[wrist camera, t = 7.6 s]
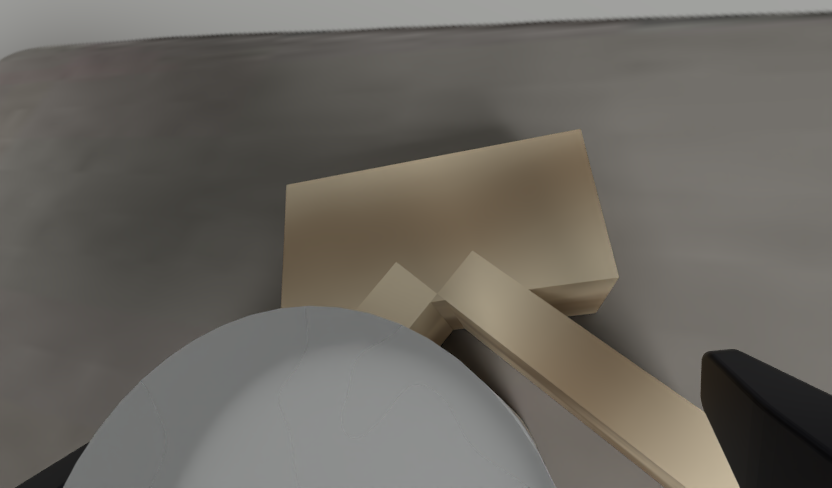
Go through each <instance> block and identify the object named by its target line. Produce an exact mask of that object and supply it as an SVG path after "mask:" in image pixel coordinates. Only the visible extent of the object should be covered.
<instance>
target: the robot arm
mask: <svg viewBox="0 0 832 488" xmlns="http://www.w3.org/2000/svg"><path fill="white" fill-rule="evenodd" d="M701 402H702V406H703V409H704V411H705V414H706V416H707V418H708V420H709V422H710V425H711V427H712V429H713V431H714V433H715V435H716V438H717V440H718V442H719V444H720V446H721V448H722V450H723V453H724V455H725V457H726V459H727V461H728V463H729V465H730V468H731V470H732V472H733V474H734V476H735V478H736V481H737V483H738V485H739V487H740V488H832V395H830V394H828V393H826V392H824V391H822V390H820V389H818V388H815V387H813V386H811V385H809V384H807V383H805V382H803V381H801V380H799V379H797V378H795V377H793V376H791V375H789V374H787V373H784V372H782V371H780V370H778V369H776V368H774V367H772V366H770V365H768V364H766V363H764V362H762V361H760V360H758V359H756V358H754V357H751V356H749V355H747V354H745V353H743V352H741V351H739V350H735V349H727V350H717V351H708V352H706V353H705V354H704V355H703V357H702V368H701ZM89 443H90V442H89ZM89 443H87V444H85V445H84V446H82V447H80V448H79V449H77V450H76V451H74V452H72V453H71V454H69V455H67V456H66V457H64V458H63V459H61V460H59V461H58V462H56V463H54V464H53V465H51V466H50V467H48V468H46V469H45V470H43V471H41V472H40V473H38V474H37V475H35V476H33V477H32V478H30V479H28V480H27V481H25V482H24V483H22V484H20V485H19V486H17V487H15V488H63V487H64V485H65V483H66V481H67V479H68V477H69V475H70V474H71V472H72V470H73V468H74V466H75V464H76V462H77V461H78V459H79V458H80V456H81V455H82V453H83V452H84V450H85V449H86V447H87V446H88V444H89Z"/></svg>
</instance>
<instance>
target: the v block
mask: <svg viewBox="0 0 832 488" xmlns="http://www.w3.org/2000/svg"><path fill="white" fill-rule="evenodd" d="M618 278H619V275H618V271H617V268H616V264H615V260H614V256H613V252H612V248H611V244H610V241H609V237H608V233H607V229H606V225H605V221H604V217H603V214H602V210H601V206H600V202H599V198H598V194H597V190H596V187H595V183H594V179H593V175H592V171H591V167H590V163H589V160H588V156H587V152H586V148H585V144H584V140H583V136H582V133H581V129H577V130H572V131H567V132H562V133H556V134H551V135H546V136H541V137H535V138H530V139H525V140H520V141H514V142H509V143H504V144H499V145H493V146H488V147H483V148H478V149H472V150H467V151H462V152H457V153H451V154H446V155H441V156H436V157H430V158H425V159H420V160H415V161H409V162H404V163H399V164H394V165H388V166H383V167H378V168H373V169H367V170H362V171H357V172H352V173H346V174H341V175H336V176H331V177H325V178H320V179H315V180H310V181H304V182H299V183H294V184H289V185H287V186H286V208H285V230H284V252H283V275H282V297H281V308H290V307H301V306H322V307H340V308H345V309H350V310H355V311H360V312H366V313H370V314H373V315H376V316H379V317H381V318H384V319H387V320H390V321H393V322H396V323H399V324H401V325H403V326H405V327H407V328H409V329H411V330H413V331H415V332H417V333H419V334H421V335H422V336H424V337H426V338H428V339H430V340H431V341H433V342H434V343H436V344H437V345H439V346H441V345H442V343H443V342H444V341H445V340H446V338H447V337H448V336H449V335H450V333H451V332H452V331H453V330H457V329H466V330H467V331H468V332H470V333H471V334H472V335H473V336H475V337H476V338H477V339H478V340H480V341H481V342H482V343H483V344H485V345H486V346H487V347H488V348H490V349H491V350H492V351H493V352H495V353H496V354H497V355H499V356H500V357H501V358H502V359H504V360H505V361H506V362H507V363H509V364H510V365H511V366H512V367H514V368H515V369H516V370H517V371H519V372H520V373H521V374H522V375H524V376H525V377H526V378H528V379H529V380H530V381H531V382H533V383H534V384H535V385H536V386H538V387H539V388H540V389H541V390H543V391H544V392H545V393H546V394H548V395H549V396H550V397H551V398H553V399H554V400H555V401H556V402H558V403H559V404H560V405H562V406H563V407H564V408H565V409H567V410H568V411H569V412H570V413H572V414H573V415H574V416H575V417H577V418H578V419H579V420H580V421H582V422H583V423H584V424H585V425H587V426H588V427H589V428H591V429H592V430H593V431H594V432H596V433H597V434H598V435H599V436H601V437H602V438H603V439H604V440H606V441H607V442H608V443H609V444H611V445H612V446H613V447H614V448H616V449H617V450H618V451H619V452H621V453H622V454H623V455H625V456H626V457H627V458H628V459H630V460H631V461H632V462H633V463H635V464H636V465H637V466H638V467H640V468H641V469H642V470H643V471H645V472H646V473H647V474H648V475H650V476H651V477H652V478H654V479H655V480H656V481H657V482H659V483H660V484H661V485H662V486H664V487H665V488H740V487H739V485H738V483H737V481H736V478H735V476H734V474H733V472H732V470H731V468H730V465H729V463H728V461H727V459H726V457H725V455H724V453H723V450H722V448H721V446H720V444H719V442H718V440H717V438H716V435H715V433H714V431H713V429H712V427H711V425H710V422H709V420H708V418H707V416H706V414H705V412H703V411H702V410H700V409H699V408H697V407H696V406H694V405H693V404H692V403H690V402H689V401H687V400H686V399H684V398H683V397H682V396H680V395H679V394H677V393H676V392H674V391H673V390H672V389H670V388H669V387H667V386H666V385H664V384H663V383H662V382H660V381H659V380H657V379H656V378H654V377H653V376H651V375H650V374H649V373H647V372H646V371H644V370H643V369H641V368H640V367H639V366H637V365H636V364H634V363H633V362H631V361H630V360H629V359H627V358H626V357H624V356H623V355H621V354H620V353H619V352H617V351H616V350H614V349H613V348H611V347H610V346H609V345H607V344H606V343H604V342H603V341H601V340H600V339H598V338H597V337H596V336H594V335H593V334H591V333H590V332H588V331H587V330H586V329H584V328H583V327H581V326H580V325H578V324H577V323H576V322H574V321H573V320H571V319H570V318H568V317H567V316H576V315H584V314H593V313H596V312H597V311H598V309H599V308H600V306H601V304H602V303H603V301H604V300H605V298H606V297H607V295H608V294H609V292H610V291H611V289H612V288H613V286H614V284H615V283H616V281H617V280H618Z"/></svg>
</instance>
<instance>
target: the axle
mask: <svg viewBox="0 0 832 488" xmlns="http://www.w3.org/2000/svg"><path fill="white" fill-rule="evenodd" d="M63 488H556V487H555V485H554V482H553V480H552V478H551V476H550V474H549V472H548V470H547V467H546V465H545V463H544V461H543V459H542V457H541V455H540V452H539V450H538V448H537V446H536V444H535V442H534V440H533V437H532V435H531V434H530V432H529V430H528V428H527V426H526V425H525V423H524V422H523V420H522V419H521V418H520V417H519V416H518V415H517V414H516V413H515V412H514V411H513V410H512V409H511V408H510V407H509V406H508V405H507V404H506V403H505V402H504V401H503V400H502V399H501V398H500V397H499V396H498V395H497V394H496V393H495V392H493V391H492V390H491V389H490V388H489V387H488V386H487V385H486V384H485V383H484V382H483V381H482V380H481V379H480V378H478V377H477V376H476V375H475V374H474V373H473V372H472V371H471V370H470V369H469V368H467V367H466V366H465V365H464V364H463V363H462V362H461V361H460V360H459V359H457V358H456V357H454V356H453V355H452V354H450V353H449V352H447V351H446V350H444V349H443V348H441V347H440V346H439V345H437V344H436V343H434V342H433V341H431V340H430V339H428V338H426V337H424V336H422V335H421V334H419V333H417V332H415V331H413V330H411V329H409V328H407V327H405V326H403V325H401V324H399V323H396V322H393V321H390V320H387V319H384V318H381V317H379V316H376V315H373V314H370V313H366V312H360V311H355V310H350V309H345V308H340V307H322V306H301V307H290V308H279V309H275V310H270V311H266V312H262V313H257V314H253V315H249V316H246V317H244V318H241V319H238V320H235V321H233V322H230V323H227V324H225V325H222V326H220V327H218V328H216V329H214V330H212V331H210V332H208V333H206V334H204V335H202V336H201V337H199V338H197V339H195V340H193V341H192V342H190V343H189V344H187V345H186V346H184V347H183V348H181V349H180V350H178V351H177V352H175V353H174V354H172V355H171V356H169V357H168V358H167V359H166V360H164V361H163V362H162V363H161V364H160V365H158V366H157V367H156V368H155V369H154V370H152V371H151V372H150V373H149V374H148V375H147V376H145V377H144V378H143V379H142V380H141V381H140V382H139V383H138V384H137V385H136V386H135V387H134V388H133V389H132V390H131V391H130V392H129V394H128V395H127V396H126V397H125V398H124V399H123V400H122V401H121V402H120V403H119V404H118V405H117V407H116V408H115V409H114V410H113V412H112V413H111V414H110V415H109V417H108V418H107V419H106V420H105V422H104V423H103V424H102V425H101V427H100V428H99V429H98V430H97V432H96V433H95V435H94V436H93V438H92V439H91V441H90V443H89V444H88V446H87V447H86V449H85V450H84V452H83V453H82V455H81V456H80V458H79V459H78V461H77V462H76V464H75V466H74V468H73V470H72V472H71V474H70V475H69V477H68V479H67V481H66V483H65V485H64V487H63Z"/></svg>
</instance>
